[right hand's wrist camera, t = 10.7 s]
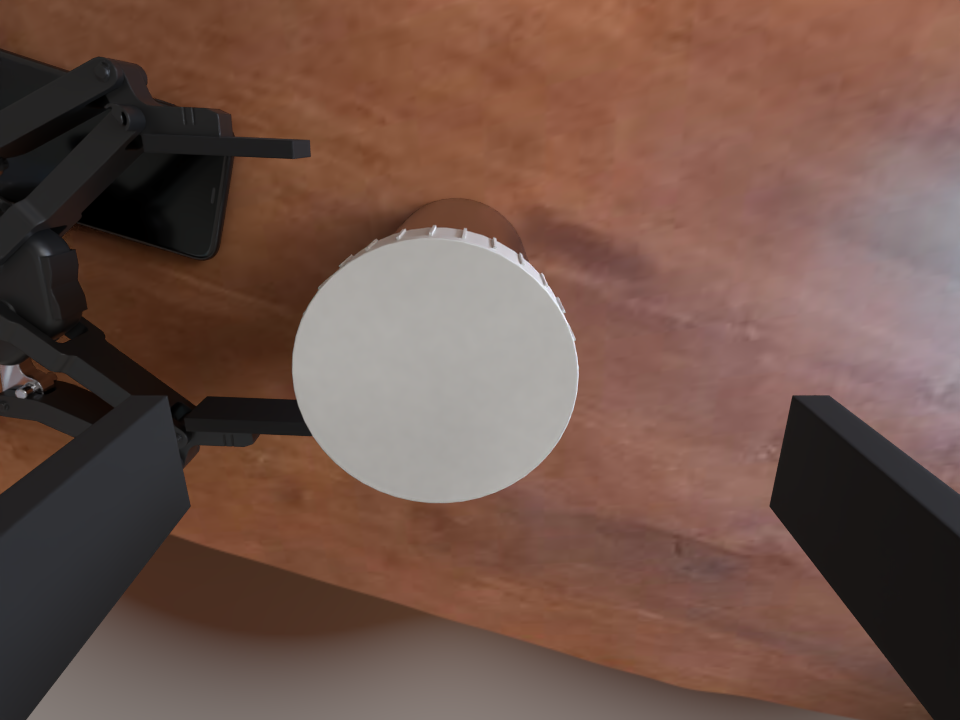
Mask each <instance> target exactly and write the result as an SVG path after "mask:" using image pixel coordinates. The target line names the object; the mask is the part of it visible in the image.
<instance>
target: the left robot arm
mask: <svg viewBox="0 0 960 720" xmlns="http://www.w3.org/2000/svg"><path fill="white" fill-rule="evenodd" d="M146 85H147V75H146V73H145V71H144V70H143V69H142V67H140V66H139V65H137V64H133V63H129V62H125V61H120V60H115V59H110V58H104V57H96V58H93V59H91V60H89V61H88V62H86V63H84V64H82V65H80V66H79V67H77V68H75V69H73V70H71V71H70V72H68V73H66V74H64V75H63V76H61V77H59V78H57V79H55V80H54V81H52V82H50V83H48V84H47V85H45V86H43V87H41V88H39V89H38V90H36V91H34V92H32V93H31V94H29V95H27V96H25V97H23V98H22V99H20V100H18V101H16V102H14V103H13V104H11V105H9V106H7V107H6V108H4V109H2V110H0V176H1V175H2V174H3V172H4V169H7V168H8V167H9V162H8V160H7V159H6V158H11V157H16V156H20V155H23V154H26V153H28V152H30V151H32V150H34V149H36V148H38V147H40V146H41V145H43V144H45V143H47V142H49V141H51V140H52V139H54V138H56V137H58V136H60V135H62V134H63V133H65V132H67V131H69V130H71V129H73V128H75V127H76V126H78V125H80V124H82V123H84V122H86V121H87V120H89V119H91V118H93V117H95V116H97V115H98V114H100V113H102V112H104V111H106V110H108V109H112V110H111V111H110V112H109V113H108V114H107V115H106V116H105V117H104V118H103V120H102V121H101V122H100V123H99V124H98V125H97V126H96V127H95V128H94V129H93V130H92V131H91V132H90V133H89V134H88V135H87V136H86V137H85V138H84V139H83V140H82V141H81V142H80V143H79V144H78V145H77V146H76V147H75V148H74V149H73V150H72V151H71V152H70V153H69V154H68V155H67V156H66V157H65V158H64V159H63V160H62V162H61V163H60V164H59V165H58V166H57V167H56V168H55V169H54V170H53V171H52V172H51V173H50V174H49V175H48V176H47V177H46V178H45V179H44V180H43V181H42V182H41V183H40V184H39V185H38V186H37V187H36V188H35V189H34V190H33V191H32V192H31V193H30V194H29V195H28V196H27V197H26V198H25V199H23V200H21V201H19V202H17V203H15V204H12V203H10V202H9V201H7V200H6V199H4V198H3V197H1V196H0V374H1V381H2V388H3V392H1V393H0V415H1V416H5V417H12V418H19V419H26V420H34V421H38V422H40V423H43V424H45V425H47V426H49V427H52V428H54V429H56V430H59V431H61V432H63V433H65V434H68V435H70V436H72V437H75V438H76V437H77V436H78V435H80V434H81V433H82V432H84V431H85V430H86V429H87V428H89V427H90V426H91V425H93V424H94V423H95V422H97V421H98V420H99V419H101V418H102V417H103V416H105V415H106V414H107V413H109V412H110V411H111V410H113V409H114V408H115V407H116V406H118V405H119V404H120V403H122V402H123V401H124V400H126V399H127V398H128V397H130V396H168V401H169V406H170V410H171V415H172V420H173V425H174V429H175V434H176V439H177V444H178V449H179V453H180V458H181V463H182V468H183V469H184V467H185V466H186V465H187V464H188V463H189V462H190V461H191V460H192V459H193V457H194V456H195V455H196V454H197V453H198V452H199V449H200V446H199V445H209V446H234V447H245V446H248V445H251V444H253V443H254V442H255V441H256V439H257V438H258V437H259V435H260V434H271V435H296V436H313V435H312V434H311V432H310V430H309V428H308V427H307V425H306V423H305V421H304V419H303V416H302V414H301V411H300V409H299V406H298V403H297V400H286V399H261V398H237V397H212V396H207V397H206V398H205V399H204V400H203V401H202V402H201V403H200V404H198V405H197V406H195V405H193V404H192V403H191V402H189V401H188V400H187V399H185V398H184V397H182V396H181V395H180V394H178V393H177V392H176V391H174V390H173V389H171V388H170V387H169V386H167V385H166V384H165V383H163V382H162V381H160V380H159V379H158V378H156V377H155V376H154V375H152V374H151V373H149V372H148V371H147V370H145V369H144V368H143V367H141V366H140V365H138V364H137V363H136V362H134V361H133V360H132V359H130V358H129V357H127V356H126V355H125V354H123V353H122V352H121V351H119V350H118V349H116V348H115V347H114V346H112V345H111V344H110V343H108V342H107V341H106V340H105V334H104V333H103V332H102V331H101V330H100V329H99V328H97V327H96V326H94V325H93V324H92V323H90V322H89V321H88V320H86V319H85V318H84V317H82V311H84V310H86V309H87V304H86V299H85V295H84V292H83V290H82V288H81V286H80V284H79V282H78V265H79V264H78V259H77V254H76V249H70V248H69V246H68V245H67V243H66V242H65V241H64V240H63V239H62V238H61V237H62V236H63V235H64V234H65V233H66V232H67V231H68V230H69V229H70V228H71V227H72V226H73V225H74V224H75V223H76V222H78V221H79V220H80V218H81V217H82V215H81V213H82V212H83V211H84V210H85V209H86V208H87V207H88V206H89V205H90V204H91V203H92V202H93V201H94V200H95V199H96V198H97V197H98V196H99V195H100V194H101V193H102V192H103V191H104V190H105V189H106V188H107V187H108V186H109V185H110V184H111V183H112V182H113V181H114V180H115V179H116V178H117V177H118V176H119V175H120V174H121V173H122V172H123V171H124V170H125V169H126V168H127V167H128V166H129V165H130V164H132V163H133V162H134V161H135V160H136V159H137V158H138V157H139V156H140V155H141V154H142V153H143V152H148V153H170V154H193V155H216V156H239V157H261V158H284V159H297V158H305V157H311V154H310V140H297V139H274V138H252V137H233V131H232V121H231V114H228V113H226V112H224V111H222V110H220V109H210V108H192V107H169V106H162V105H160V104H158V103H157V102H156V101H155V100H154V99H153V98H152V96H151V95H150V93H149V90H148V88H147V86H146ZM63 335H65V336H67V337H68V338H70V339H71V340H69V341H67V342H65V343H58V342H56V340H58V339H59V338H60V337H62V336H63ZM31 358H32V359H33V360H35V361H36V362H38V363H39V364H40V365H42V366H43V367H45V368H46V369H48V370H50V371H53V372H62V373H65V374H67V375H68V376H70V377H71V378H73V379H74V380H76V381H77V382H78V383H80V384H81V385H83V386H84V387H86V388H87V389H89V390H90V391H91V392H90V391H88V390H85V389H83V388H81V387H78V386H76V385H73V384H70V383H66V382H62V381H57V375H56V374H55V373H53V372H48V373H45V372H42V371H40V370H38V369H37V368H36V367H35V366H34V365H33V363H32V361H31ZM92 392H93V393H92Z"/></svg>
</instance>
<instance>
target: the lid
mask: <svg viewBox="0 0 960 720" xmlns="http://www.w3.org/2000/svg"><path fill="white" fill-rule="evenodd" d="M339 267H340V269H338V270H337V271H336V272H335V273H334V274H333V275H331V276H330V277H329V278H328V279H327V280H325V281H324V282H323V283H322V284H321V285H320V286H319V287H318V289H319V290H318V292H317V293H316V295H315V296H314V298H313V299H312V300H311V302H310V303H309V305H308V307H307V309H306V311H305V312H304V313H303V317H302V319H301V322H300V325H299V328H298V331H297V334H296V337H295V343H294V348H293V354H292V376H293V385H294V391H295V395H296V399H297V403H298V406H299V409H300V411H301V414H302V416H303V419H304V421H305V423H306V425H307V427H308V428H309V430H310V432H311V434H312V435H313V437H314V438H315V440H316V441H317V442H318V444H319V445H320V447H321V448H322V449H323V451H324V452H325V453H326V454H327V455H328V456H329V457H330V458H331V459H332V460H333V461H334V462H335V463H336V464H337V465H339V466H340V467H341V468H342V469H343V470H345V471H346V472H347V473H348V474H350V475H351V476H353V477H354V478H356V479H357V480H359V481H361V482H362V483H364V484H366V485H368V486H370V487H372V488H374V489H376V490H378V491H381V492H383V493H386V494H389V495H392V496H395V497H399V498H403V499H407V500H411V501H419V502H427V503H451V502H461V501H467V500H471V499H476V498H480V497H483V496H486V495H489V494H492V493H495V492H497V491H499V490H502V489H504V488H506V487H508V486H510V485H512V484H513V483H515V482H517V481H518V480H520V479H521V478H523V477H524V476H526V475H527V474H528V473H529V472H531V471H532V470H533V469H534V468H536V467H537V466H538V465H539V464H540V463H541V462H542V461H543V460H544V459H545V458H546V457H547V455H548V454H549V453H550V452H551V451H552V449H553V448H554V447H555V445H556V444H557V442H558V441H559V440H560V438H561V436H562V434H563V432H564V430H565V428H566V427H567V425H568V422H569V420H570V417H571V414H572V411H573V409H574V404H575V400H576V395H577V388H578V369H579V366H578V360H577V353H576V349H575V344H574V341H575V337H574V335H573V332H572V330H571V328H570V326H569V323H567V321H566V318H565V316H564V314H563V313H565V310H564V308H563V306H562V304H561V302H560V299H559V297H557V298H556V297H555V296H554V294H553V292H552V290H551V288H550V287H549V286H548V284H547V282H546V279H545V277H544V275H543V274H542V273H541V274H539V273H538V272H537V271H536V270H535V269H534V268H533V267H532V265H531V264H530V263H529V262H527V261H526V260H525V259H524V258H523V255H522V254H521V253H519V254H517V253H516V252H515V251H513V250H511V249H510V248H508V247H506V246H505V245H503V244H501V243H500V242H497V241H496V238H494V237H493V239H490V238H488V237H486V236H483V235H480V234H476V233H473V232H469V231H467V228H464V230H459V229H452V228H436V225H433V226H432V228H421V229H413V230H408V231H406V229H402V230H401V232H400V233H396V234H393V235H390V236H388V237H385V238H383V239H381V240H377V239H375V240H373V241H372V242H371V243H370V244H369V245H368V246H367V247H366V248H364V249H362V250H361V251H360V252H358V253H357V254H356V255H355V256H353V255H352V254H351V255H350V256H349V257H348V258H347V259H346V260H345V261H343V262H342V263H341V264H340V265H339Z"/></svg>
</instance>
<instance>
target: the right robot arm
mask: <svg viewBox="0 0 960 720" xmlns="http://www.w3.org/2000/svg"><path fill="white" fill-rule="evenodd" d="M189 508H190V501H189V497H188V492H187V487H186V482H185V477H184V473H183V468H182V463H181V458H180V453H179V449H178V444H177V439H176V434H175V429H174V425H173V420H172V415H171V410H170V406H169V401H168V396H130V397H128V398H127V399H126V400H124V401H123V402H122V403H120V404H119V405H118V406H116V407H115V408H114V409H113V410H111V411H110V412H109V413H107V414H106V415H105V416H103V417H102V418H101V419H99V420H98V421H97V422H95V423H94V424H93V425H91V426H90V427H89V428H87V429H86V430H85V431H84V432H82V433H81V434H80V435H78V436H77V437H76V438H74V439H73V440H72V441H70V442H69V443H68V444H66V445H65V446H64V447H62V448H61V449H60V450H58V451H57V452H56V453H55V454H53V455H52V456H51V457H49V458H48V459H47V460H45V461H44V462H43V463H41V464H40V465H39V466H37V467H36V468H35V469H33V470H32V471H31V472H30V473H28V474H27V475H26V476H24V477H23V478H22V479H20V480H19V481H18V482H16V483H15V484H14V485H12V486H11V487H10V488H8V489H7V490H6V491H4V492H3V493H2V494H1V495H0V720H26V719H27V718H28V717H29V715H30V714H31V713H32V711H33V710H34V709H35V708H36V706H37V705H38V704H39V702H40V701H41V700H42V698H43V697H44V696H45V695H46V693H47V692H48V691H49V689H50V688H51V687H52V685H53V684H54V683H55V682H56V680H57V679H58V678H59V676H60V675H61V674H62V673H63V671H64V670H65V669H66V667H67V666H68V665H69V663H70V662H71V661H72V659H73V658H74V657H75V656H76V654H77V653H78V652H79V650H80V649H81V648H82V647H83V645H84V644H85V643H86V641H87V640H88V639H89V637H90V636H91V635H92V634H93V632H94V631H95V630H96V628H97V627H98V626H99V624H100V623H101V622H102V621H103V619H104V618H105V617H106V615H107V614H108V613H109V612H110V610H111V609H112V608H113V606H114V605H115V604H116V602H117V601H118V600H119V599H120V597H121V596H122V595H123V593H124V592H125V591H126V589H127V588H128V587H129V586H130V584H131V583H132V582H133V580H134V579H135V578H136V576H137V575H138V574H139V572H140V571H141V570H142V569H143V567H144V566H145V565H146V563H147V562H148V561H149V560H150V558H151V557H152V556H153V554H154V553H155V552H156V550H157V549H158V548H159V547H160V545H161V544H162V543H163V541H164V540H165V539H166V538H167V536H168V535H169V534H170V532H171V531H172V530H173V528H174V527H175V526H176V525H177V523H178V522H179V521H180V519H181V518H182V517H183V515H184V514H185V513H186V512H187V510H188V509H189ZM770 508H771V509H772V510H773V512H774V513H775V514H776V515H777V517H778V518H779V519H780V521H781V522H782V523H783V525H784V526H785V527H786V528H787V530H788V531H789V532H790V534H791V535H792V536H793V538H794V539H795V540H796V541H797V543H798V544H799V545H800V547H801V548H802V549H803V551H804V552H805V553H806V554H807V556H808V557H809V558H810V560H811V561H812V562H813V563H814V565H815V566H816V567H817V569H818V570H819V571H820V573H821V574H822V575H823V576H824V578H825V579H826V580H827V582H828V583H829V584H830V586H831V587H832V588H833V589H834V591H835V592H836V593H837V595H838V596H839V597H840V599H841V600H842V601H843V602H844V604H845V605H846V606H847V608H848V609H849V610H850V612H851V613H852V614H853V615H854V617H855V618H856V619H857V621H858V622H859V623H860V624H861V626H862V627H863V628H864V630H865V631H866V632H867V634H868V635H869V636H870V637H871V639H872V640H873V641H874V643H875V644H876V645H877V647H878V648H879V649H880V650H881V652H882V653H883V654H884V656H885V657H886V658H887V660H888V661H889V662H890V663H891V665H892V666H893V667H894V669H895V670H896V671H897V673H898V674H899V675H900V676H901V678H902V679H903V680H904V682H905V683H906V684H907V685H908V687H909V688H910V689H911V691H912V692H913V693H914V695H915V696H916V697H917V698H918V700H919V701H920V702H921V704H922V705H923V706H924V708H925V709H926V710H927V711H928V713H929V714H930V715H931V717H932V718H933V719H934V720H960V495H959V494H958V493H957V492H956V491H954V490H953V489H952V488H950V487H949V486H948V485H946V484H945V483H944V482H942V481H941V480H940V479H938V478H937V477H936V476H934V475H933V474H932V473H930V472H929V471H928V470H927V469H925V468H924V467H923V466H921V465H920V464H919V463H917V462H916V461H915V460H913V459H912V458H911V457H909V456H908V455H907V454H905V453H904V452H903V451H901V450H900V449H899V448H898V447H896V446H895V445H894V444H892V443H891V442H890V441H888V440H887V439H886V438H884V437H883V436H882V435H880V434H879V433H878V432H876V431H875V430H874V429H873V428H871V427H870V426H869V425H867V424H866V423H865V422H863V421H862V420H861V419H859V418H858V417H857V416H855V415H854V414H853V413H851V412H850V411H849V410H847V409H846V408H845V407H844V406H842V405H841V404H840V403H838V402H837V401H836V400H834V399H833V398H832V397H830V396H792V401H791V406H790V410H789V415H788V420H787V425H786V429H785V434H784V439H783V444H782V449H781V453H780V458H779V463H778V468H777V473H776V477H775V482H774V487H773V492H772V497H771V501H770Z"/></svg>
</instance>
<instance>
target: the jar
mask: <svg viewBox="0 0 960 720" xmlns="http://www.w3.org/2000/svg"><path fill="white" fill-rule="evenodd" d="M433 225H436V228H452V229H459V230H464V228H467V231H469V232H473V233H476V234H480V235H483V236H486V237H488V238H490V239H493V237H494V238H496V241H497V242H500V243H501V244H503V245H505V246H506V247H508V248H510V249H511V250H513V251H515V252H516V253H517V254H519V253H521V254H522V255H523V258H524V259H525V260H526V261H527V262H529V261H528V258H527V255H526V252H525V250H524V247H523V244H522V242H521V239H520V237H519V235H518V234H517V232H516V230H515V229H514V227H513V226H512V225H511V223H510V222H509V221H508V220H507V219H506V218H505V217H504V216H503V215H501V214H500V213H499V212H498V211H496V210H494V209H493V208H491V207H490V206H487V205H485V204H483V203H481V202H477V201H474V200H469V199H462V198H451V199H443V200H439V201H435V202H432V203H430V204H428V205H425V206H424V207H422V208H420V209H418V210H417V211H416V212H414V213H413V214H412V215H411V216H409V217H408V219H407V220H406V221H405V222H404V223H403V224H402V225H401V226H400V227H399V228H398V229H397V230H396V231H395V233H394V234H396V233H400V232H401V230H402V229H406V231H408V230H413V229H421V228H432V226H433Z"/></svg>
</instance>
